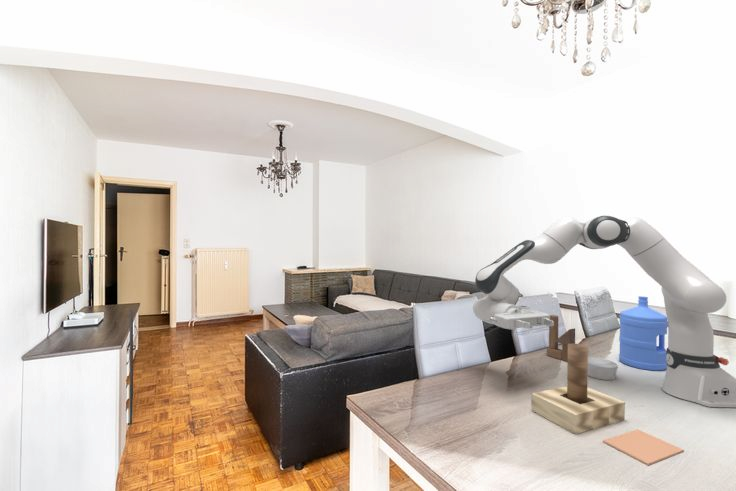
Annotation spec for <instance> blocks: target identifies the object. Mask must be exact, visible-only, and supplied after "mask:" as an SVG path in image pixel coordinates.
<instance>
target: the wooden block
mask: <svg viewBox="0 0 736 491" xmlns="http://www.w3.org/2000/svg"><path fill="white" fill-rule="evenodd" d="M549 315H550V320H552V321H553V322H554V326H548V347H546V356H547V355H548V357H550V356H551V358H555V359H557V360H560V361H563V362H565V363H568V344H571V343H574V344H576V328H570V329H568V330H567V331H565V332H564V333H563V334H562V335H561V336H559V315H555V314H549ZM559 344H561V347H562V348H559Z"/></svg>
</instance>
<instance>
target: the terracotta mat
mask: <svg viewBox="0 0 736 491" xmlns="http://www.w3.org/2000/svg"><path fill="white" fill-rule="evenodd" d="M602 443H604V444H606V445H607V446H610V447H611V448H614V449H616V450H618V451H619V452H621V453H623V454H625V455H627V456H628V457H629V456H630V458H633V459H634V460H637V461H639V462H640V463H642V464H644V465H646V466H650V465H653V464H656V463H658V462H661V461H663V460H666V459H668V458H671V457H673V456H676V455H679V454H681V453H684V451H685V450H684V449H682V448H680V447H679V446H675V445H674V444H671V443H669V442H667V441H665V440H663V439H661V438H658V437H656V436H654V435H651V434H649V433H647V432H645V431H642V430H640V429H638V428H637V429H634V430H631V431H628V432H624V433H621V434H619V435H615V436H612V437H609V438H606V439H604V440H602Z"/></svg>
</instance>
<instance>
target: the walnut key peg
mask: <svg viewBox="0 0 736 491" xmlns="http://www.w3.org/2000/svg"><path fill="white" fill-rule="evenodd" d="M588 357H589V347H588V346H587V345H585V344H581V343H575V344H574V343H571V344H568V362H567V369H566V370H567V373H566V374H567V375H566V376H567V381H566V382H567V384H566V386H567V399H569V400H572V401H574V402H576V403H578V404H583V403H587V387H588V384H589V383H588V380H589V379H588V378H589V376H588Z"/></svg>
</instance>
